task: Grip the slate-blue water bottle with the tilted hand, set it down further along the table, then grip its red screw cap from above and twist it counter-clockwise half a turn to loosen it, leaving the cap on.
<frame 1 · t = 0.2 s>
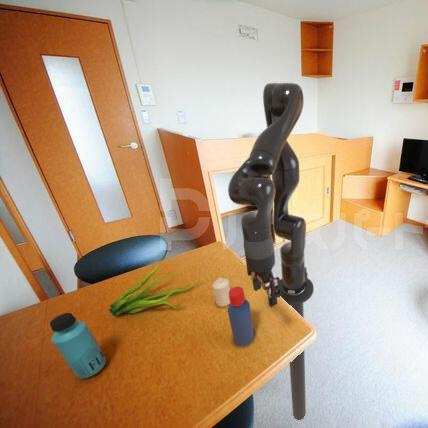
hand: (265, 296, 69), 16 cm above the table, tool pointing down, fingers open, 8 cm apart
beverage bottle: (93, 370, 65), on the table
candle: (224, 301, 89), on the table
water bottle: (244, 337, 75), on the table
decorative plant: (167, 298, 90), on the table
cap: (236, 292, 67), point 19 cm above the table, screwed on, not yet turned
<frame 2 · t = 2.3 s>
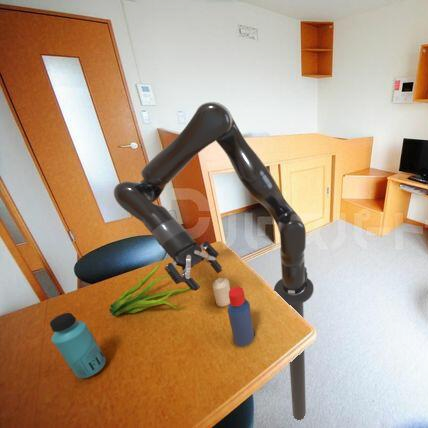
hand: (209, 280, 71), 19 cm above the table, tool tilted 45°, fingers open, 8 cm apart
nothing on the table moved.
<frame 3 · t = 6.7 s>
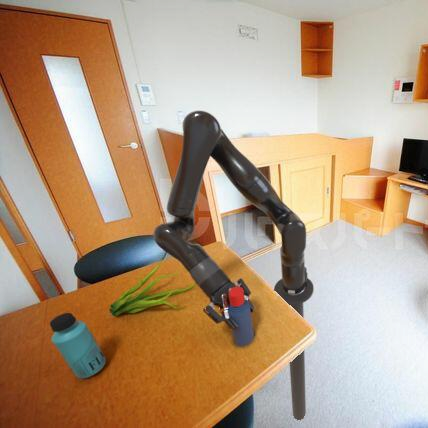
hand: (244, 319, 71), 9 cm above the table, tool tilted 45°, fingers closed on water bottle, 6 cm apart
water bottle: (244, 337, 75), on the table, touching gripper
everything else where it was.
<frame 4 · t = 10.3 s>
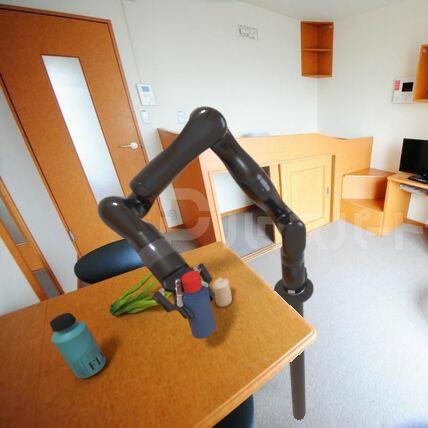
hand: (202, 308, 63), 18 cm above the table, tool tilted 45°, fingers closed on water bottle, 6 cm apart
water bottle: (204, 329, 67), point 9 cm above the table, touching gripper
cap: (190, 277, 59), point 28 cm above the table, screwed on, not yet turned
everything else where it was.
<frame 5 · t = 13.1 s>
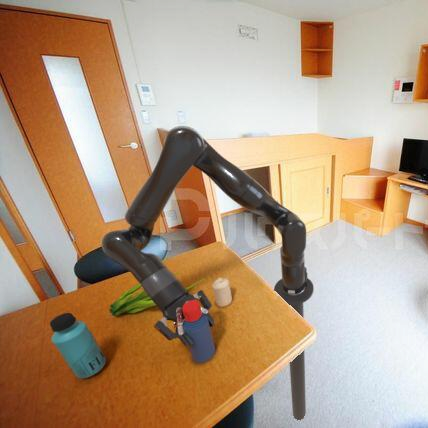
hand: (202, 334, 66), 9 cm above the table, tool tilted 45°, fingers closed on water bottle, 6 cm apart
water bottle: (204, 352, 70), on the table, touching gripper
cap: (190, 306, 62), point 19 cm above the table, screwed on, not yet turned
everything else where it was.
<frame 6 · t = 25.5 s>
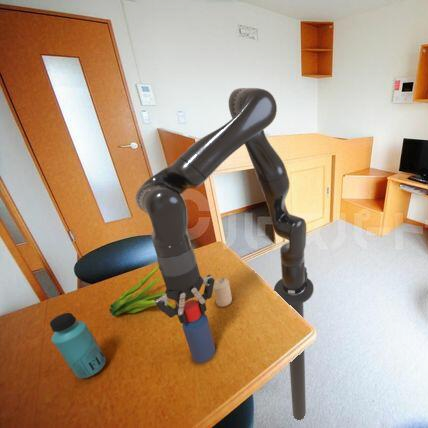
hand: (194, 316, 64), 15 cm above the table, tool pointing down, fingers closed on cap, 4 cm apart
water bottle: (204, 353, 70), on the table
cap: (190, 306, 62), point 19 cm above the table, screwed on, not yet turned, touching gripper
everything else where it was.
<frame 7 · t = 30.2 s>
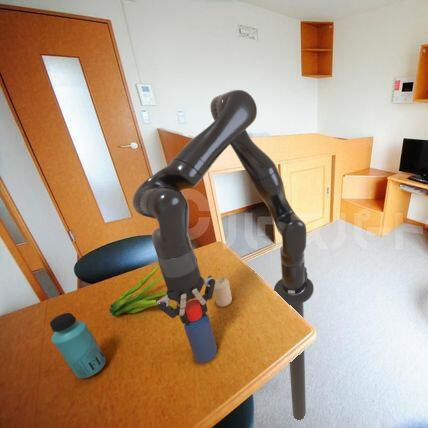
hand: (195, 317, 64), 15 cm above the table, tool pointing down, fingers closed on cap, 3 cm apart
water bottle: (206, 353, 70), on the table
cap: (192, 306, 62), point 19 cm above the table, turned 180° so far, risen 0.2 cm, still on its thread, touching gripper
everything else where it was.
when the fingers open (15 cm above the table, at t = 30.6 s): cap stays where it is, point 19 cm above the table.
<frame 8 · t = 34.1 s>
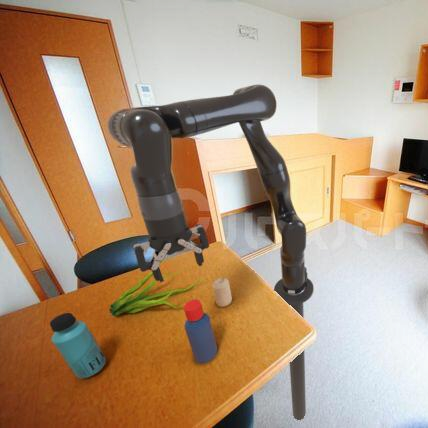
hand: (181, 272, 57), 30 cm above the table, tool pointing down, fingers open, 8 cm apart
water bottle: (206, 353, 70), on the table
cap: (192, 306, 62), point 19 cm above the table, turned 180° so far, risen 0.2 cm, still on its thread
everything else where it was.
at the end: water bottle inside the target area (0.3 cm from its centre), on the table; cap turned 0.50 turns (still on its thread); cap is still on its thread (0.50 turns) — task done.
